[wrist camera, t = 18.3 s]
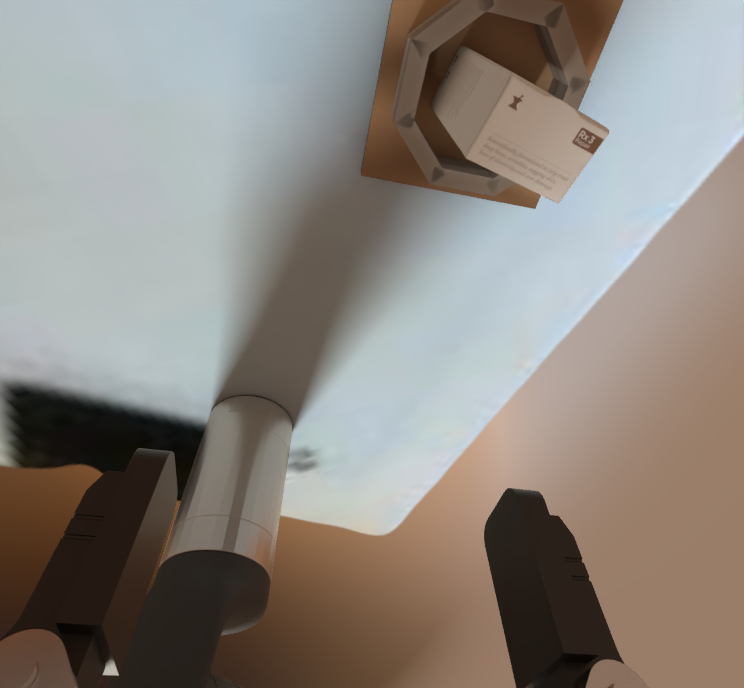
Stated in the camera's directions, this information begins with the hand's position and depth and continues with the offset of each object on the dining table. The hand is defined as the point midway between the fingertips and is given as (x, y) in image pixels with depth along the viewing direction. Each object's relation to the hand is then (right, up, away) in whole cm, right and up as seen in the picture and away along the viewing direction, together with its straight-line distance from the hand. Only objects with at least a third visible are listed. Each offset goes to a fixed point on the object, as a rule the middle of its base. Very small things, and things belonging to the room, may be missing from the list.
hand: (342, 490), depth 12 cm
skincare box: (+8, +21, +21) cm, 31 cm away
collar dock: (+8, +21, +22) cm, 32 cm away
